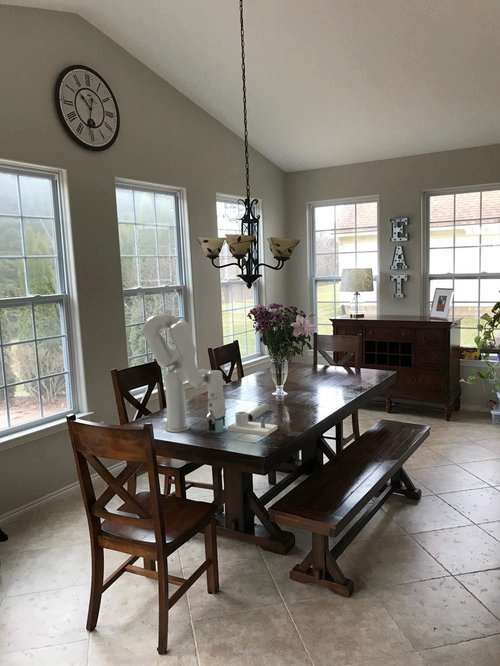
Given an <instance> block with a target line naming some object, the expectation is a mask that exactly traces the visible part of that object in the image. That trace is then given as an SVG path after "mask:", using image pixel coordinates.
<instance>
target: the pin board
mask: <svg viewBox="0 0 500 666" xmlns="http://www.w3.org/2000/svg"><path fill="white" fill-rule="evenodd" d="M277 430H278V425H277V424H271V423H266V418H265V417H264V416H261V417H260V422H256V421H253V422H248V425H247V426H242V427H240V426H236V422H234V423H232V424H230V425H228V426H227V432H233V433H234V432H235V433H242V434H251V435H256V436H264V437H267V436H269V435H270V434H272V433H274V432H275V431H277Z"/></svg>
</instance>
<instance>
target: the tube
mask: <svg viewBox="0 0 500 666" xmlns="http://www.w3.org/2000/svg"><path fill="white" fill-rule="evenodd" d="M267 411H269V404H267V403H262V404H260V405H259V406H257V407H256V408H254V409H253V410H251V411H250V412H247V413H248V422H255V421H254V420H256V419H257V418H259V417H260V416H262V415H264V414H265V413H266V412H267Z"/></svg>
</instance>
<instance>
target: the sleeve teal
mask: <svg viewBox="0 0 500 666" xmlns="http://www.w3.org/2000/svg"><path fill="white" fill-rule="evenodd" d="M211 420H213V419H211ZM214 423H215V431H211V433H214V434H215V433H222V432H224V429H225V428H224V426H223V418H218V419H215V421H214Z"/></svg>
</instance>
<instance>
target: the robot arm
mask: <svg viewBox="0 0 500 666" xmlns="http://www.w3.org/2000/svg"><path fill="white" fill-rule="evenodd" d="M143 324H144V325H143V328H142V334H143V337H144V339H145V341H146V342H147V344H148V346H149V348H150V351H151V352H152V354H153V356H154V358H155V360H156V362H157V364H158V366H160V367H161V368H162V369H167V368H169V369H168V370H167V371H166V372H165V373H164V377H163V383H164V388H165V396H166V398H165V399H166V413H167V414H166V415H167V418H163V420H162V421H161V423H162V424H165V425H166V426H165V427H164V430H165V431H166V432H170V433H180V432H185V431H187V430H189V429H190V426H191V425H190V424H189V423H188V422H187V411H186V410H187V408H186V407H187V406H186V393H185V388H184V383H186V382H188V383H189V385H190V386H192V387H193V388H196V389H197V388H201V387H202V386H204V385H206V384H207V398H208V401H207V403H208V404H207V414H206V417H205V418H206V421H207V423H208V431H209V432H212V431H215V423H214V421H215V419H218V418H223V427H225V426H226V420H225V419H226V415H227V413H226V411H227V408H226V402H225V401H226V400H225V397H224V383H223V372H222V371H221V370H218V369H217V370H216V369H215V370H214V369H213V370H211V369H205V368H201V369H198V367H197V364H196V360H195V358H196V352H197V351H196V346H195V344H194V342H193V341H192V339H191V336H190V335H191V334H192V327H191V324H190V323H188V322H187V321H185V320H183V319H180V318H178V317H175V316H174V315H171V314H168V313H160V314H159V313H158V314H155V315H151V316H150V317H149V318H147V319H146V320H145V322H144V323H143ZM163 331H167V332H169V336H170V338H171V340H172V342H173V344H174V346H169V345H168V343H167V341H166V339H165V338H164V336H163V335H162V334H161V332H163ZM211 419H213V420H211Z"/></svg>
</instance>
